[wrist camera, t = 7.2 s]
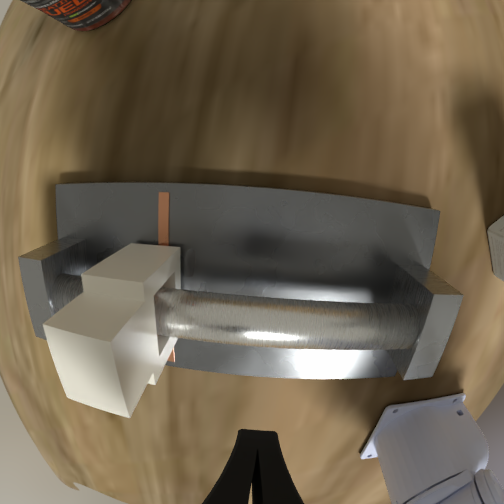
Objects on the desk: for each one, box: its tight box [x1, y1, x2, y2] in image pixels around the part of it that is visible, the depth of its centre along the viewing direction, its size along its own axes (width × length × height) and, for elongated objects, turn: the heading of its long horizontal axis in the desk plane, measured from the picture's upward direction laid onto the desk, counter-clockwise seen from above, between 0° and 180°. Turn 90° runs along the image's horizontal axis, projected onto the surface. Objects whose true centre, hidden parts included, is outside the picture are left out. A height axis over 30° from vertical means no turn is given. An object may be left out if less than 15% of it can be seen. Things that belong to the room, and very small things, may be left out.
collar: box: [43, 243, 181, 418], centre depth 12 cm, size 3×5×8 cm, turn 176°
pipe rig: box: [18, 182, 463, 380], centre depth 15 cm, size 24×12×6 cm, turn 86°
